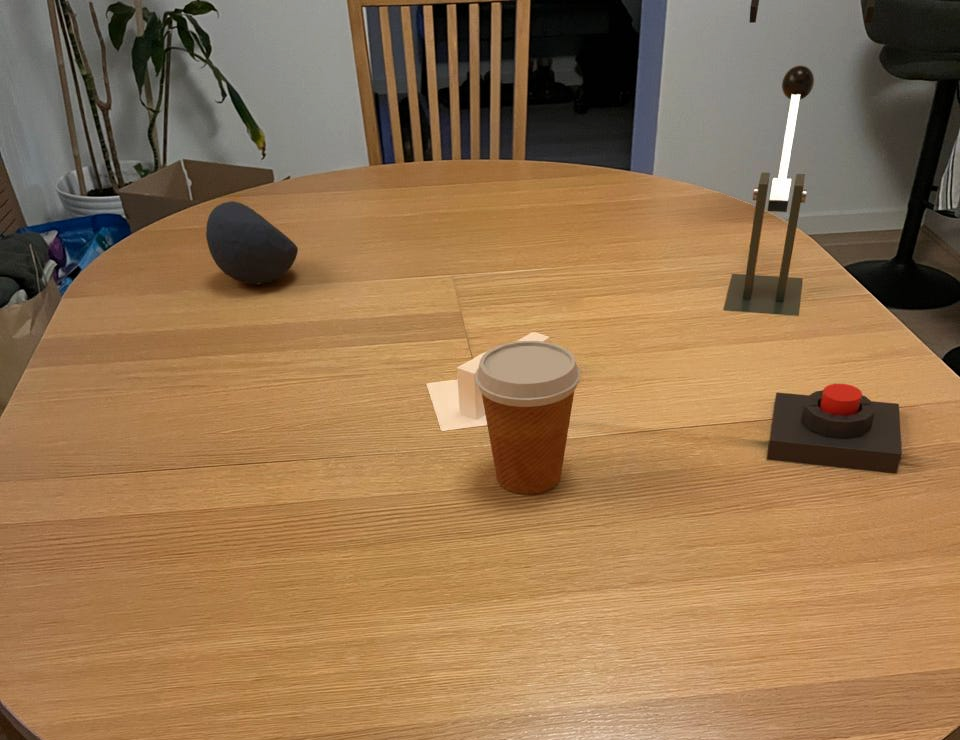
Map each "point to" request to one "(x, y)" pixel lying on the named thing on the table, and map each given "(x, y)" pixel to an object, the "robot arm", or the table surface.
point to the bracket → (768, 290)
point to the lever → (789, 133)
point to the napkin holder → (464, 395)
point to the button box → (835, 434)
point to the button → (841, 399)
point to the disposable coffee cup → (528, 411)
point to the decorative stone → (248, 244)
